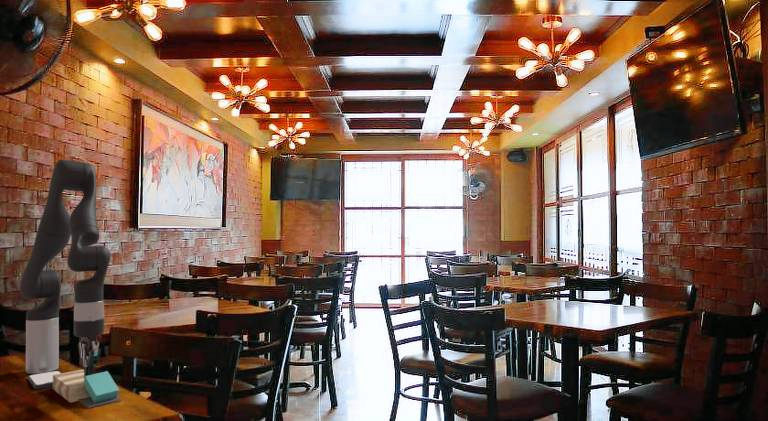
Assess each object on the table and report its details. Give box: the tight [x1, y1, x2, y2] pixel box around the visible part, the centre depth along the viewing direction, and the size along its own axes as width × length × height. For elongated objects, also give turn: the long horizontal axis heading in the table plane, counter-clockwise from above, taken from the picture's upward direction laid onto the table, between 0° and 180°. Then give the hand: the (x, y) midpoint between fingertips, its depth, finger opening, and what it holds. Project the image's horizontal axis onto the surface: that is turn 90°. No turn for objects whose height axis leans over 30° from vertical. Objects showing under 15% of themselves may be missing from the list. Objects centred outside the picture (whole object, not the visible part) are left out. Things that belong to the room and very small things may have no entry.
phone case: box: [27, 370, 62, 390], centre depth 164 cm, size 9×2×16 cm
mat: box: [77, 396, 122, 409], centre depth 145 cm, size 9×8×1 cm
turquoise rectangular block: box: [83, 370, 120, 403], centre depth 146 cm, size 8×6×2 cm
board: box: [52, 369, 91, 404], centre depth 153 cm, size 18×8×4 cm, turn 45°
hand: (89, 379), depth 148 cm, fingers closed
